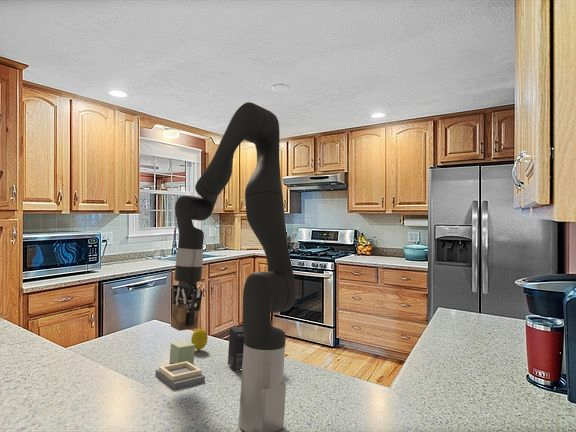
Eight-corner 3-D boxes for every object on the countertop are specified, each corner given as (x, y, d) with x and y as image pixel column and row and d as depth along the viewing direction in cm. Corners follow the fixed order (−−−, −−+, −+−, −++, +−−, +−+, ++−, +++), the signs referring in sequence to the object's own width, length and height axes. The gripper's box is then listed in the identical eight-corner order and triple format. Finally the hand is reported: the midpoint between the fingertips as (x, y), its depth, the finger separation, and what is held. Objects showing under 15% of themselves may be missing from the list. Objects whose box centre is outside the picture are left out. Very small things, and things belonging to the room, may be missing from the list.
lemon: (202, 354, 122) (204, 330, 122) (187, 352, 123) (189, 328, 123) (209, 349, 127) (210, 326, 127) (194, 347, 128) (196, 325, 129)
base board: (204, 381, 98) (205, 371, 99) (174, 389, 92) (175, 378, 92) (184, 368, 107) (185, 359, 107) (155, 374, 101) (156, 365, 101)
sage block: (193, 364, 112) (195, 344, 112) (177, 367, 108) (178, 347, 108) (185, 359, 116) (186, 340, 116) (169, 362, 112) (171, 343, 112)
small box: (264, 360, 119) (267, 324, 120) (272, 368, 113) (275, 329, 113) (226, 364, 113) (229, 326, 114) (232, 372, 107) (235, 331, 108)
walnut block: (197, 328, 101) (199, 307, 101) (179, 330, 97) (181, 308, 97) (188, 324, 105) (189, 303, 105) (170, 326, 101) (172, 305, 101)
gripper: (213, 266, 99) (208, 327, 98) (189, 262, 110) (184, 317, 109) (189, 266, 94) (183, 331, 93) (166, 262, 105) (160, 319, 104)
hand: (184, 323), depth 101 cm, fingers closed on walnut block, 5 cm apart
